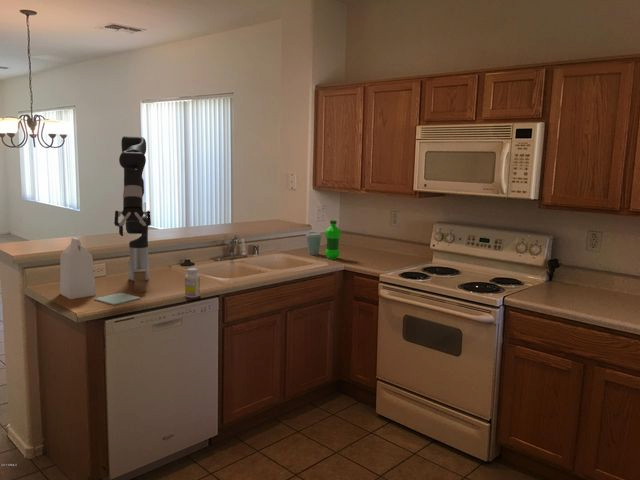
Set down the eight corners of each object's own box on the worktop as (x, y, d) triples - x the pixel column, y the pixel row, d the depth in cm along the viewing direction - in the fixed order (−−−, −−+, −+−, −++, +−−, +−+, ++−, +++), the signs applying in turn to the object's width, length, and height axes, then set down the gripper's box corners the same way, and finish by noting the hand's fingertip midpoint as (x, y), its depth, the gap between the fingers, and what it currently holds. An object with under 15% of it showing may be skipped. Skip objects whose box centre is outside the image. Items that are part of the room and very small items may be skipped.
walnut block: (134, 290, 257) (134, 269, 256) (145, 289, 259) (145, 269, 257) (134, 292, 253) (134, 271, 251) (145, 291, 254) (145, 271, 253)
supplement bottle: (193, 293, 254) (193, 267, 252) (202, 296, 249) (202, 269, 247) (182, 296, 248) (181, 269, 246) (191, 298, 244) (190, 271, 242)
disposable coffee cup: (323, 255, 365) (324, 233, 362) (310, 256, 359) (310, 234, 357) (316, 252, 374) (316, 231, 371) (302, 253, 368) (303, 231, 366)
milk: (60, 293, 247) (57, 237, 243) (85, 290, 255) (83, 235, 251) (69, 299, 238) (67, 241, 234) (95, 295, 246) (93, 239, 242)
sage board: (94, 299, 238) (94, 298, 238) (121, 293, 249) (121, 292, 249) (113, 305, 230) (113, 303, 230) (140, 298, 242) (140, 297, 242)
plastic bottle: (321, 258, 353) (322, 220, 349) (331, 256, 361) (332, 219, 357) (333, 260, 346) (334, 222, 342) (343, 258, 354) (344, 220, 350)
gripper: (150, 200, 230) (151, 237, 227) (115, 200, 226) (115, 237, 222) (150, 195, 223) (150, 233, 220) (113, 195, 218) (113, 233, 215)
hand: (132, 235), depth 221 cm, fingers open, 8 cm apart
